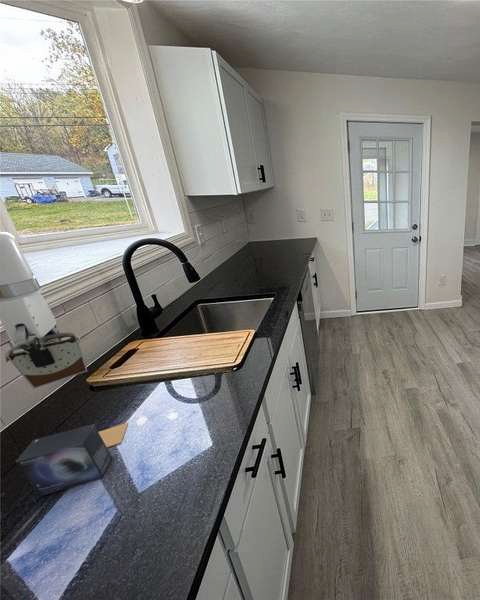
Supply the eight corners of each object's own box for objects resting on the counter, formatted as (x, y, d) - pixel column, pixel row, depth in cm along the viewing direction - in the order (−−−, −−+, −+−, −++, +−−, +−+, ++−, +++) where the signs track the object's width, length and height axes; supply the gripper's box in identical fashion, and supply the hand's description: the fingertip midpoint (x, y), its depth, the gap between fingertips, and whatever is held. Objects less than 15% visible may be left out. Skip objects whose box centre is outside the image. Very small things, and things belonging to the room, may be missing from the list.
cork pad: (50, 467, 72) (49, 466, 72) (63, 444, 79) (63, 443, 78) (121, 443, 78) (120, 442, 78) (128, 423, 84) (127, 422, 84)
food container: (95, 360, 84) (78, 326, 80) (95, 368, 80) (77, 333, 76) (27, 381, 76) (6, 345, 73) (24, 392, 72) (1, 354, 68)
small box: (38, 499, 65) (12, 462, 61) (56, 474, 70) (32, 439, 66) (102, 479, 68) (81, 442, 64) (114, 456, 74) (95, 422, 70)
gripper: (10, 283, 75) (46, 347, 81) (-35, 305, 61) (13, 381, 67) (53, 276, 78) (84, 339, 85) (19, 296, 64) (60, 369, 71)
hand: (52, 357), depth 76 cm, fingers closed on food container, 6 cm apart
